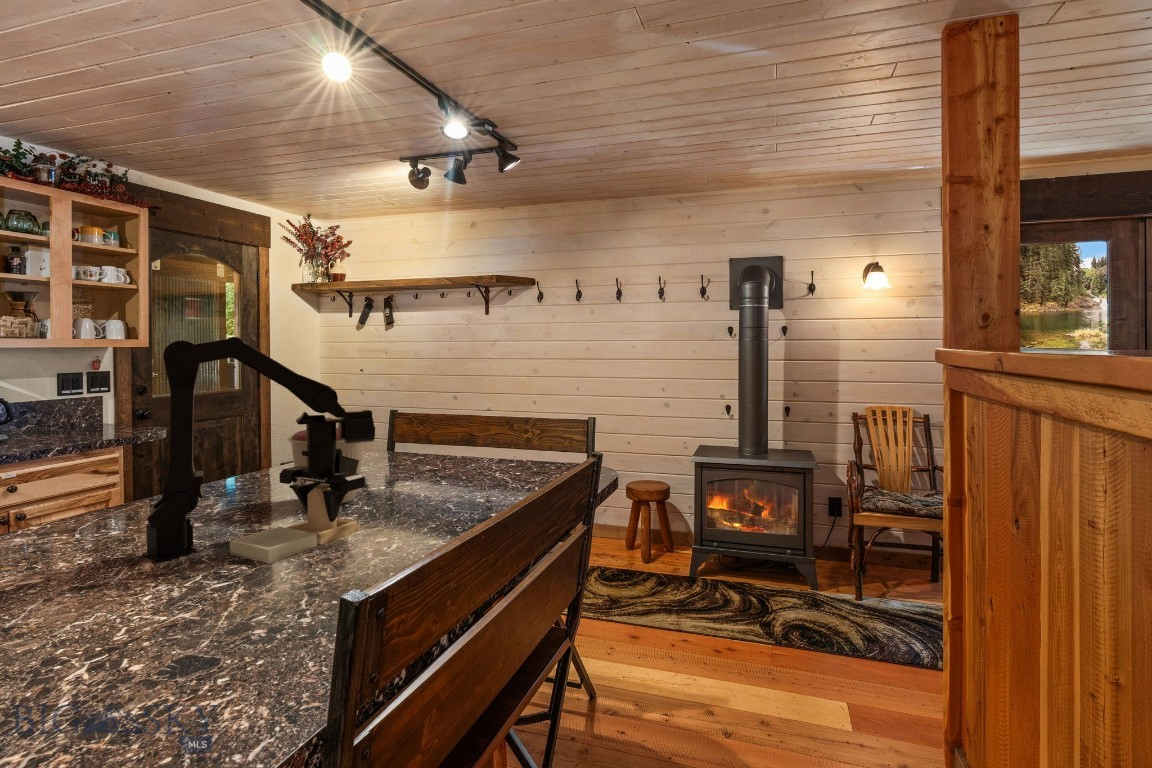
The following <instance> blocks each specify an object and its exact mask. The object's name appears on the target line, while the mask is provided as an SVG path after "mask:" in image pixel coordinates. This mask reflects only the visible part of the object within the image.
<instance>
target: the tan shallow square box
mask: <svg viewBox="0 0 1152 768" xmlns="http://www.w3.org/2000/svg"><path fill="white" fill-rule="evenodd" d="M285 528H290V529H295V530H300V531H305V532H310V533H315V534H317V545H323V544H326V543H329V542H331V541H334V540H337V539H340V538H343V537H345V536H348V535H351V534H354V533H357V532H359V521H355V520H349V519H343V518H339V517H337V527H335V528H332V529H329V530H325V531H322V532H319V531H314V530H308V520H305V521H303V522H299V523H295V524H293V525H289V526H286V527H285Z"/></svg>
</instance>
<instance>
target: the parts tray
mask: <svg viewBox="0 0 1152 768" xmlns="http://www.w3.org/2000/svg"><path fill="white" fill-rule="evenodd" d="M316 547H318V544H317V534H315V533H310V532H305V531H300V530H295V529H290V528H285V527H284V526H276V527H275V526H274V527H272V528H269V529H265V530H262V531H258V532H256V533H251V534H249V535H246V536H242V537H238V538H236V539H232V540H229V555H232V556H236V557H240V558H245V559H249V560H253V561H258V562H261V563H266V564H271V563H274V562H277V561H279V560H283V559H286V558H288V557H291V556H294V555H297V554H299V553H303V552H305V551H308V550H311V549H313V548H316Z"/></svg>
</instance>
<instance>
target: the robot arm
mask: <svg viewBox="0 0 1152 768" xmlns="http://www.w3.org/2000/svg"><path fill="white" fill-rule="evenodd" d="M162 356H163V363H164V368H165V373H166V377H167V381H168V386H169V391H170V404H169V405H170V407H169V409H170V414H169V419H170V422H169V466H168V469H167V475H166V478H165V482H164V487H163V491H162V496H161V498H160V499H159V500H158V501H157V502H156V503H155V504H154V505H152V506H151V509H150V511H149V513H148V516H147V522H148V523H146V524H145V528H146V529H145V531H146V533H145V534H146V551H144V552H142V553H141V557H146V558H148V559H153V560H156V561H159V562H164V561H168V560H172V559H174V558H178V557H181V556H185V555H188V554H192V553H194V552H197V551H198V550H197V548H196V547H193V546H194V525H193V524H192V523H191V522H192V521H191V517H187V515H188V514H190V513H191V512H192V511H194V510H195V509H196V508H197V507H198V503H199V498H200V499H203V496H204V488H203V486H202V483H203V479H204V478H203V477H204V470H198V471H196V468H195V465H194V416H195V415H194V412H195V411H194V410H195V409H194V408H195V406H194V405H195V387H196V382H197V379H198V375H199V370H200V366H201V364H204V363H209V362H214V361H219V360H224V359H225V360H226V359H231V358H232V359H235V360H237V362H240V363H242V364H243V365H246V366H247V367H249V368H250V369H252V370H254V371H255V372H257V373H259V374H261V375H263V376H264V377H266V378H268V379H270V380H271V381H273V382H275V383H277V385H280V386H281V387H283V388H285V389H286V390H288V391H289V392H290V393H292V394H293V395H294V396H295V397H296V398H298V400H300V401H301V402H302V403H303V404H305V405H306V406H307V407H308V408H310V409H311V410H312V411H313V412H315V413H318V414H310V415H309V414H308V412H306V411H303V412H302V413H301V415H300V416H299V417H298V418H297V419H295V423H297V425H301V426H303V425H305V427H306V428H305V430H306V444H307V445H306V448H307V450H303V451H302V456H307V466H296V467H294V466H292V467H286V468H282V470H281V472H280V473H279V483H280V484H285V485H289V488H290V489H291V490H292V491H293V492H294V494H295V495H296V497H297V498H298V500H299V501H300V503H301V505H302V507H303V509H304V511H305V513H306V514H307V515H308V493H309V492H310V491H311V490H313V489H314V488H315V487H316V486H318V485H319V486H320V484H321V483H325V484H329V487H330V490H326V491H323V496H324V500H325V505H326V509H327V513H328V517H329V520H330V522H333V521H335V520H336V517H337V516H338V514H339V511H340V509H341V505H342V504H343V503H342V501H343V499H344V496H345V495H346V494H347V493H348V492H349V491H352V490H356V489H358V490H359V489H363V488H366V477H365V476H364V475H363V473H360V474H359V473H356V472H357V468H358V464H359V460H357V459H353V458H350V457H345V456H342V450H341V449H339V448H336V427H337V424H338V427H337V428H338V434H339V438H340V439H343V438H344V442H345V443H359V442H363V443H371V442H372V443H373V442H374V441H375V437H376V426H375V423H374V418H373V411H372V410H371V409H364V410H363V409H362V410H360V411H359V410H358V411H356V410H355V411H346V408H344V407H342V405H341V404H340V403H339V401H338V399H339V397H338V393H337V391H336V389H334V388H333V387H332V386H330V385H326V384H324V383H322V382H319V381H317V380H315V379H312V378H309V377H307V376H304V375H301V374H299V373H297V372H295V371H293V370H291V369H290V368H288V367H287V366H285V365H283V364H282V363H280V362H279V361H277V360H275V359H273V358H271V357H270V356H269V355H266V354H264V353H263V352H261V351H260V350H258V349H256V348H255V347H253V346H252V345H250V344H248V343H246V342H245V340H243V339H242V338H240V337H237V336H231V337H227V338H226V339H220V340H214V341H207V342H201V343H194V342H192V341H189V340H176V341H173V342H171V343H170V344H167V346H166V347H165V349H164V351H163V355H162ZM326 413H328V414H330V415H332V416H333V417H334V418H333V419H325V418H326V416H325V415H324V414H326ZM347 472H348V473H347ZM341 473H344V474H341ZM336 474H340V475H336ZM325 478H327V479H325ZM341 503H342V504H341ZM337 518H338V517H337Z"/></svg>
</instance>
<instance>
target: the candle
mask: <svg viewBox="0 0 1152 768" xmlns="http://www.w3.org/2000/svg"><path fill="white" fill-rule="evenodd" d="M326 490H330V487H329V486H328V485H324V486H319V485H318V486H316V487H315V488H314V489H313V490H311V491H310V492H309V493H308V514H307V521H308V530H314V531H319V532H322V531H325V530H329V529H332V528H335V527H337V518H338V517H336V520H335V521H333V522H330V520H329V517H328V513H327V509H326V505H325V500H324V496H323V491H326Z"/></svg>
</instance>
